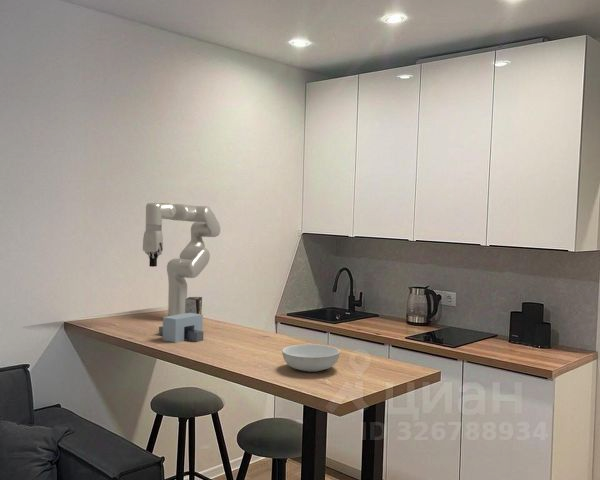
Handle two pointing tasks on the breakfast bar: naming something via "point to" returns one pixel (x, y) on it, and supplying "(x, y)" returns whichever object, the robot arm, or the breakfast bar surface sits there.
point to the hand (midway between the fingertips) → (153, 266)
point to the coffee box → (193, 305)
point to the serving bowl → (310, 357)
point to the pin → (189, 334)
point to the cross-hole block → (180, 325)
